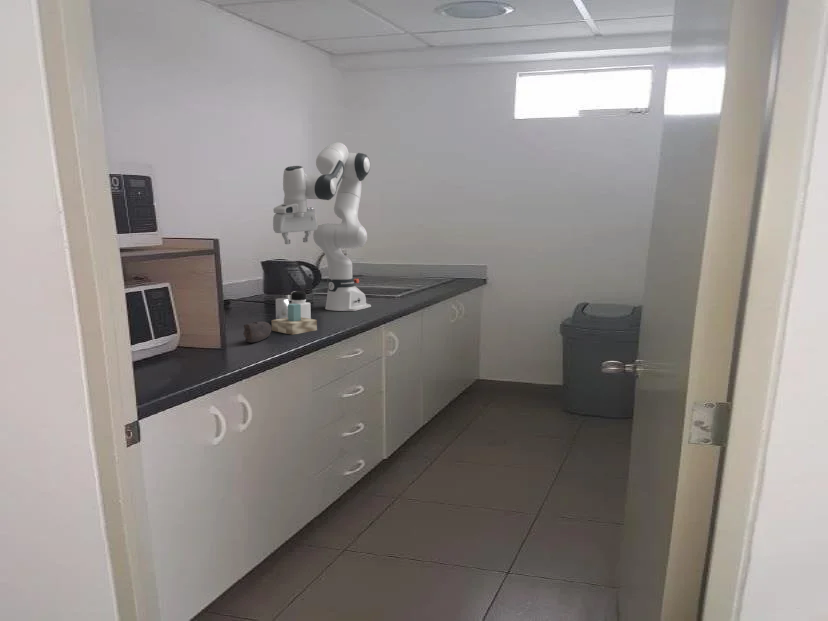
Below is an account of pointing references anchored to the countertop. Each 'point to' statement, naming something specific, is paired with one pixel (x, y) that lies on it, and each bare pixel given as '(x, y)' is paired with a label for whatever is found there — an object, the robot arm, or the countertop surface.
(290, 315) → the square bit
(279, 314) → the cylinder
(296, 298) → the medicine bottle
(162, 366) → the countertop surface
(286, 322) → the bore block
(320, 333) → the countertop surface
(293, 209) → the robot arm
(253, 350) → the countertop surface
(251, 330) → the perforated stone tool
